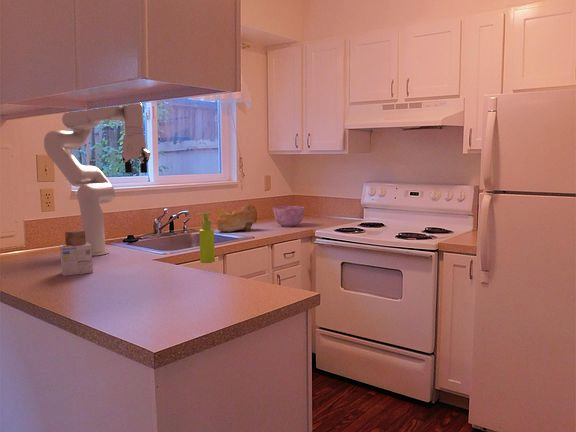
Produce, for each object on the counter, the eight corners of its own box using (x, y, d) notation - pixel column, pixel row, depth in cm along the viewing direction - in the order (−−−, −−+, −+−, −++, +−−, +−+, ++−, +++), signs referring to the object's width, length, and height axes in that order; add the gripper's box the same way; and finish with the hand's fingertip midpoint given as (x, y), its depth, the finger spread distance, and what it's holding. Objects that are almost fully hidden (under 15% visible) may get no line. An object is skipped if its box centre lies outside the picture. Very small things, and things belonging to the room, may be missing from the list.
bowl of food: (266, 226, 316) (265, 208, 315) (285, 223, 333) (285, 205, 331) (293, 229, 305) (292, 209, 304) (311, 225, 321) (311, 206, 320)
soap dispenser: (196, 261, 212) (195, 212, 210) (213, 259, 215) (211, 211, 212) (198, 263, 207) (197, 214, 205) (215, 262, 209) (214, 213, 207)
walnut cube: (65, 245, 192) (64, 231, 191) (77, 243, 196) (76, 230, 195) (73, 246, 189) (72, 232, 188) (85, 244, 193) (84, 230, 192)
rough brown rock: (254, 229, 312) (253, 204, 312) (258, 230, 296) (257, 204, 296) (216, 232, 308) (214, 207, 307) (218, 233, 292) (216, 207, 291)
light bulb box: (90, 269, 199) (89, 241, 198) (93, 272, 193) (92, 244, 192) (60, 273, 194) (58, 244, 193) (62, 276, 188) (60, 247, 187)
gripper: (113, 132, 219) (115, 173, 221) (140, 130, 209) (142, 173, 211) (128, 133, 225) (130, 172, 227) (155, 131, 215) (157, 172, 217)
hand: (136, 172), depth 219 cm, fingers open, 9 cm apart
